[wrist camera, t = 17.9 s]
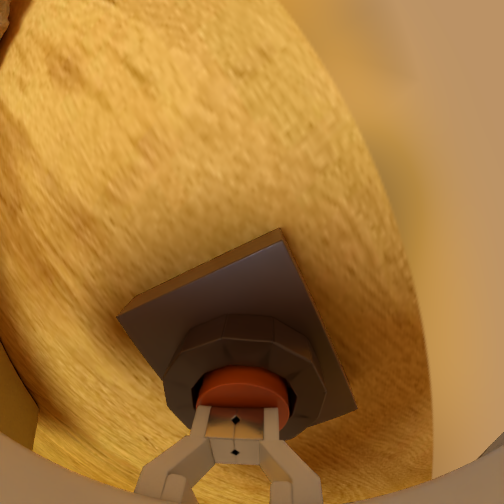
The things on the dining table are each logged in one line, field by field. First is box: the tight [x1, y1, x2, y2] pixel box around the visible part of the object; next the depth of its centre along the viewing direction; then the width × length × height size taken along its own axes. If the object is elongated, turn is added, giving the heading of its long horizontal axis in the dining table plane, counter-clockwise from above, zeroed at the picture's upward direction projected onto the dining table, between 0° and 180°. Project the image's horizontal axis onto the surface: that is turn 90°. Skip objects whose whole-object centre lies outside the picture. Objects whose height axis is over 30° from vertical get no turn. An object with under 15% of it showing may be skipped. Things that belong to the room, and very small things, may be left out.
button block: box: [116, 228, 357, 441], centre depth 12 cm, size 10×8×4 cm
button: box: [196, 365, 289, 431], centre depth 10 cm, size 4×4×2 cm
